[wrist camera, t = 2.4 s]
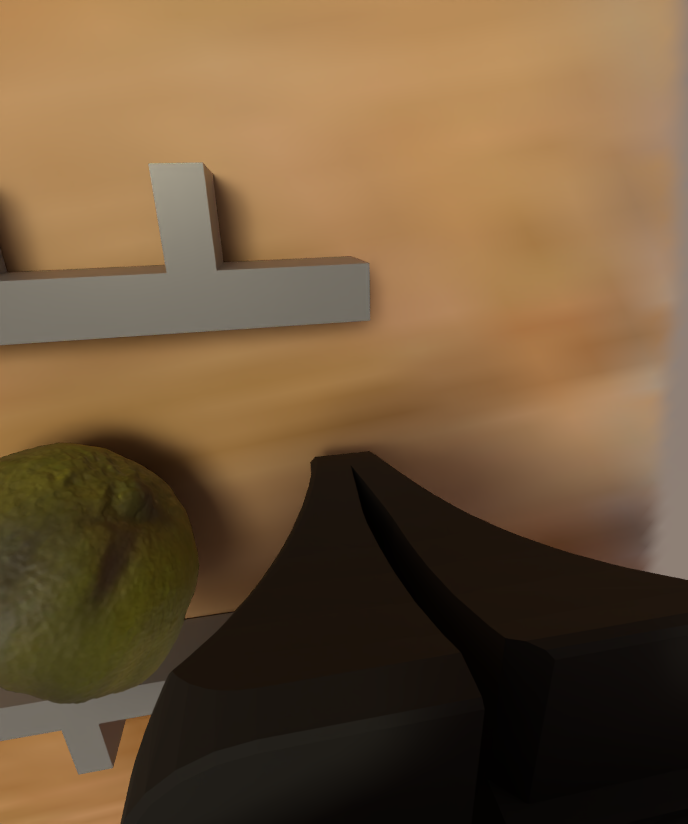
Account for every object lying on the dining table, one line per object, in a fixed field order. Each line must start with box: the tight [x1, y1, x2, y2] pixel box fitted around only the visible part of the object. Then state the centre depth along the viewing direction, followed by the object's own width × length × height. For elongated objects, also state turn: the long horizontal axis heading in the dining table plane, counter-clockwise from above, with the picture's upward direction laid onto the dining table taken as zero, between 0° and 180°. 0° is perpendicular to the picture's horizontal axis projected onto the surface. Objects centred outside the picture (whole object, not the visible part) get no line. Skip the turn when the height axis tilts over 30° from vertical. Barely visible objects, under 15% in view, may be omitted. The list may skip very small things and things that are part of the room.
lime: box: [0, 443, 199, 704], centre depth 9 cm, size 4×5×5 cm
